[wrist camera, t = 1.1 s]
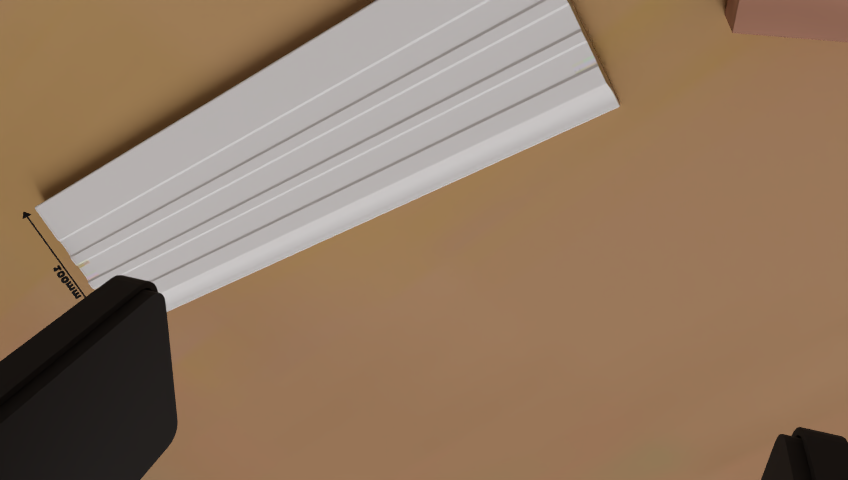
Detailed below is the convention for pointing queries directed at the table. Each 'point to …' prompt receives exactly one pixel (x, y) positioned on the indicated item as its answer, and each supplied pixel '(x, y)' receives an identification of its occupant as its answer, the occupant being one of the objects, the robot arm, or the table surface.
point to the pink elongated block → (790, 18)
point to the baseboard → (331, 140)
